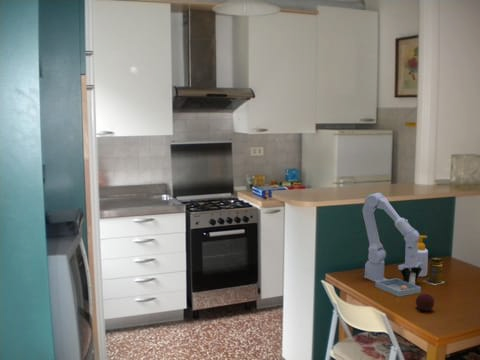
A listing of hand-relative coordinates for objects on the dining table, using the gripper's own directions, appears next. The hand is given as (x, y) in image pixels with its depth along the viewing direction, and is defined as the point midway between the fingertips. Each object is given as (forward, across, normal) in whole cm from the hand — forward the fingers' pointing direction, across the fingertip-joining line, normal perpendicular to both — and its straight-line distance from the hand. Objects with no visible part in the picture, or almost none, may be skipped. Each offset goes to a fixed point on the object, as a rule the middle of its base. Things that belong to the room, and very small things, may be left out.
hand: (410, 282), depth 242 cm
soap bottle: (+2, +19, +13) cm, 23 cm away
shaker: (+2, 0, 0) cm, 2 cm away
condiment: (+2, +15, -1) cm, 15 cm away
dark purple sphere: (+2, -19, -27) cm, 33 cm away
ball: (+1, -11, -7) cm, 13 cm away
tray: (+2, -11, -3) cm, 12 cm away
